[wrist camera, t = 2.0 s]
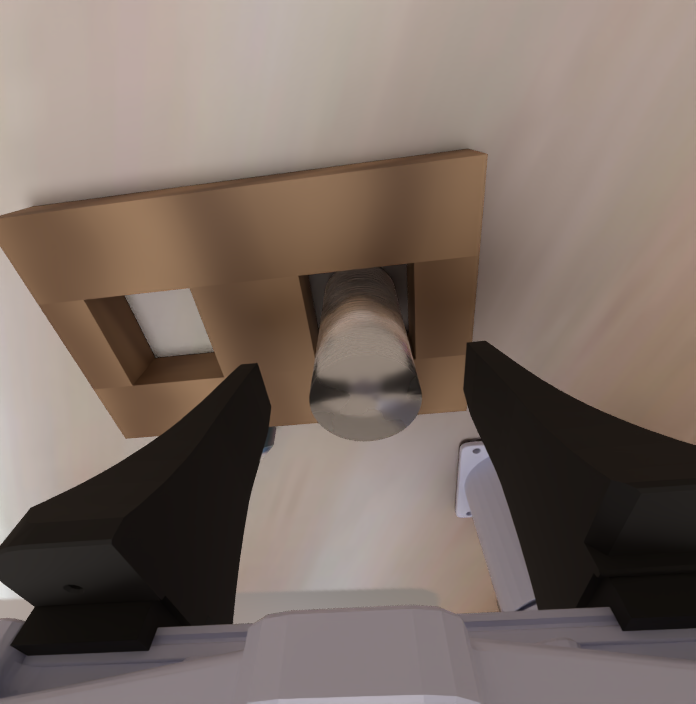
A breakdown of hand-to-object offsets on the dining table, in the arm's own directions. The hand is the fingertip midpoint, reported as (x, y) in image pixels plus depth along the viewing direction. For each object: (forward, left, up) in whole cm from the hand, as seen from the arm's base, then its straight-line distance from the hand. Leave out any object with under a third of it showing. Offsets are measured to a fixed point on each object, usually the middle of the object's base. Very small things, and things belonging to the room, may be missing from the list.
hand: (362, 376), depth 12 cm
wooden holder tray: (+4, 0, -7) cm, 8 cm away
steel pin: (0, 0, -7) cm, 7 cm away
